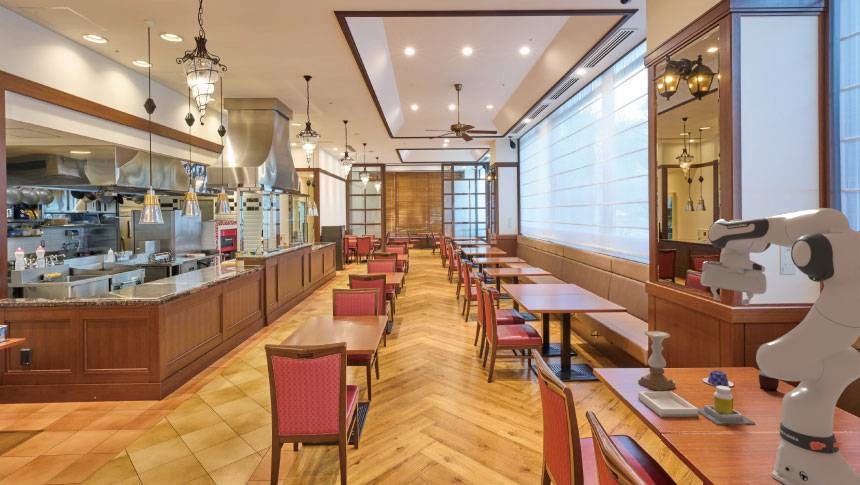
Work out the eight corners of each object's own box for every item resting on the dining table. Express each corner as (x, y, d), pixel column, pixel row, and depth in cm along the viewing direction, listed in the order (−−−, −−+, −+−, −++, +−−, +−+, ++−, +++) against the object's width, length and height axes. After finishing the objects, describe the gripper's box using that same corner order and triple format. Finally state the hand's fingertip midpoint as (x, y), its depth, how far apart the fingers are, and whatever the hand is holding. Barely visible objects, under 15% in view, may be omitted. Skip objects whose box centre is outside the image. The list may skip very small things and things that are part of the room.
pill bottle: (736, 420, 164) (736, 391, 164) (717, 419, 165) (718, 390, 165) (728, 413, 170) (728, 385, 170) (710, 412, 171) (711, 384, 171)
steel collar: (755, 424, 161) (755, 417, 161) (716, 424, 161) (717, 418, 161) (728, 408, 175) (728, 402, 175) (693, 409, 175) (693, 402, 175)
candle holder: (637, 383, 203) (638, 332, 203) (654, 380, 208) (654, 329, 207) (659, 391, 193) (659, 337, 193) (675, 387, 198) (676, 334, 197)
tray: (698, 416, 168) (698, 408, 168) (661, 417, 168) (661, 409, 167) (671, 398, 186) (671, 391, 186) (638, 398, 186) (638, 391, 185)
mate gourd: (780, 389, 195) (781, 356, 194) (776, 394, 190) (776, 359, 189) (759, 385, 201) (760, 352, 200) (754, 389, 195) (755, 355, 195)
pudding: (697, 381, 207) (697, 370, 206) (712, 377, 212) (712, 366, 212) (724, 390, 196) (724, 378, 196) (739, 385, 202) (739, 374, 201)
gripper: (706, 258, 159) (702, 296, 157) (770, 268, 155) (767, 307, 153) (699, 261, 165) (695, 297, 163) (760, 270, 161) (757, 308, 159)
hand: (730, 302), depth 158 cm, fingers open, 8 cm apart
